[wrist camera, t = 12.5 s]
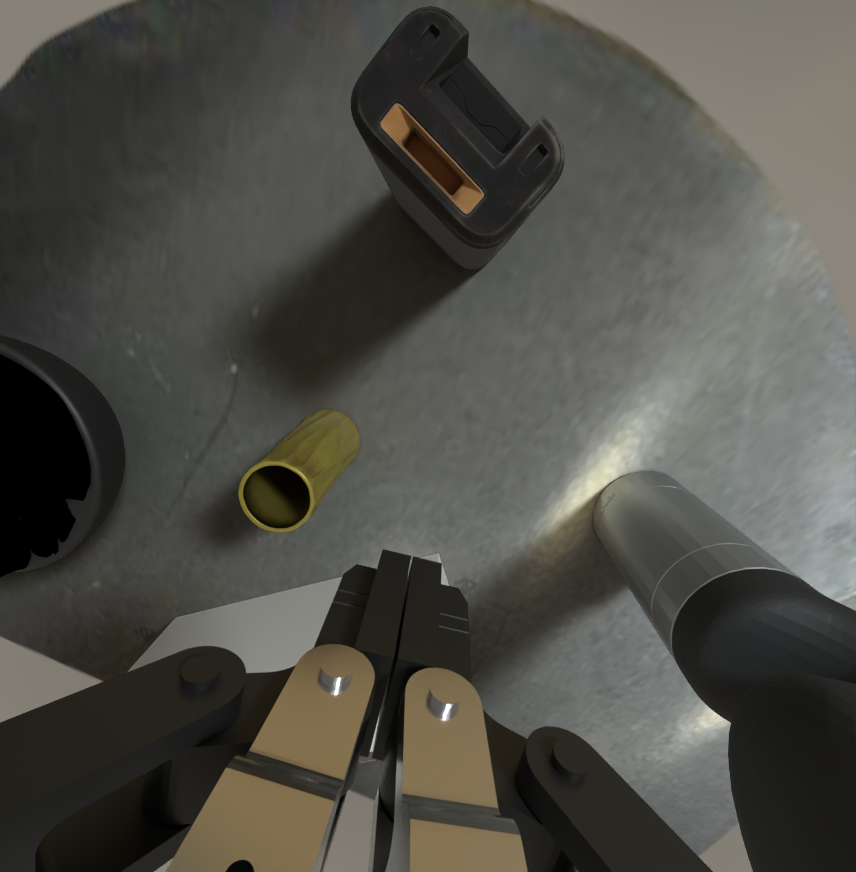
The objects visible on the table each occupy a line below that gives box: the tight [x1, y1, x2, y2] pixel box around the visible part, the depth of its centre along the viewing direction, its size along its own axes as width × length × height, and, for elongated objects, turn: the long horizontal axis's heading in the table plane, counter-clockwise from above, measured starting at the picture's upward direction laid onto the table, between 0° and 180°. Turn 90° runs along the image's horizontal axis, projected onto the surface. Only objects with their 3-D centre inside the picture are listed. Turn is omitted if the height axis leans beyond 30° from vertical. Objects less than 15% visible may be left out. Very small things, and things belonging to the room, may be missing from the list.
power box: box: [128, 553, 449, 752], centre depth 44 cm, size 8×30×14 cm, turn 107°
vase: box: [238, 410, 360, 532], centre depth 39 cm, size 6×6×14 cm
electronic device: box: [351, 6, 565, 273], centre depth 30 cm, size 9×6×20 cm, turn 47°
